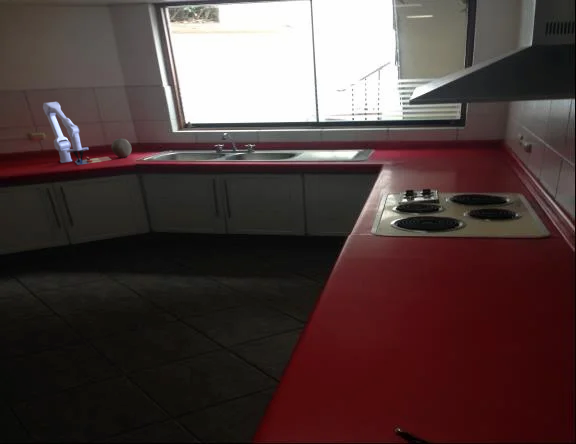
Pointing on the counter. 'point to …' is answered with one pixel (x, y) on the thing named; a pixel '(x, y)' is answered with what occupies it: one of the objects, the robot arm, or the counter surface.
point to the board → (94, 160)
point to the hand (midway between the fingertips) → (80, 160)
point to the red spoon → (89, 160)
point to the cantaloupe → (121, 148)
